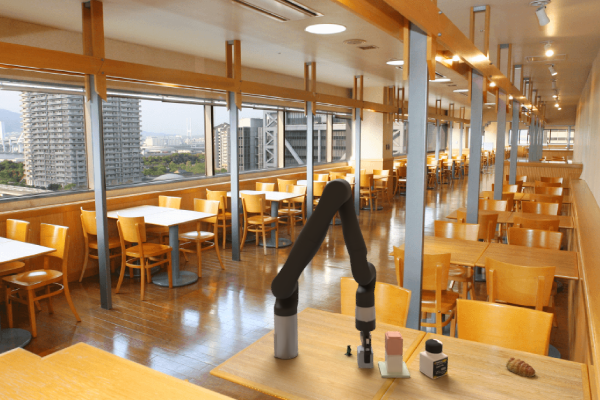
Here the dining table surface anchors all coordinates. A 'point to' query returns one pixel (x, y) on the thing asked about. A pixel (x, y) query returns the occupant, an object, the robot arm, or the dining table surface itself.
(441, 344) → the medicine bottle
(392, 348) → the brick terracotta
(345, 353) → the sculpture
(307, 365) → the dining table surface
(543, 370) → the dining table surface
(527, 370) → the pastry
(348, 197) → the robot arm
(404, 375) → the tower base
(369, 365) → the grey block
